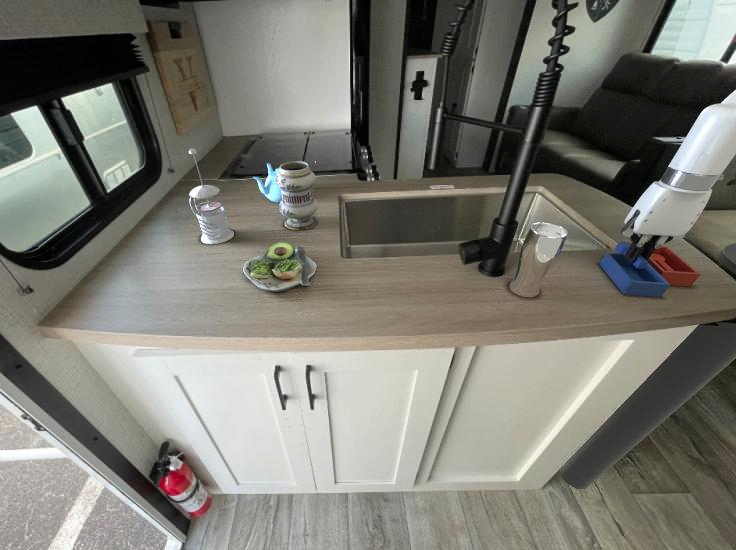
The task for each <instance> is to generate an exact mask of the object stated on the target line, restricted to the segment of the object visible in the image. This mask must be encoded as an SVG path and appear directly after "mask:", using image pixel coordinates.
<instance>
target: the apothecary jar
mask: <svg viewBox="0 0 736 550" xmlns="http://www.w3.org/2000/svg"><path fill="white" fill-rule="evenodd" d="M279 168H280V171H279V174H278V175H277V176H276V179H275V181H276V184H277V186H278V187H279V188H281V194H282V201H281V202H279V205H278V210H279V212H280V213H281V215H282V216H284V217H285V218H287V219H286V220H285V221H284V227H286V228H287V229H289V230H292V231H302V230H309V229H311V228H313V227H314V226H315V225H316V219H315V218H313V216H314V214H316V212H317V211H318V209H319V203H318V201H317V199H316V198H315V197H314V189H313V186H314V185H315V183H316V181H317V177H316V174H315V173H314V172H313V171H312V170H311V169H310V165H309V163H307V162H306V161H304V160H303V161H302V160H296V161H295V160H294V161H293V160H292V161H288V162H284V163H282V164H280V165H279Z"/></svg>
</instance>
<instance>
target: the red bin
mask: <svg viewBox="0 0 736 550" xmlns="http://www.w3.org/2000/svg"><path fill="white" fill-rule="evenodd" d="M653 254H658V255H661V256H663V257H664V258H665V261H664V262H665V263H666V264H667V265H669V266H670V267H671V268H672V269H673V270H674V271H665V270H664V269H663V268H662V267H660V266H659V265H658V264H657V263H656V262H655V261H654V260H653V259H652V258H651V257H650V258H649V259H648V260H647V261H648V263H649V264H650V265H651V266H652V267H653V268H654V269H655V270H656V271H657V272H658V273H659V274H660V275H661V276H662V277H663V278H664V279H665V280H666V281H667V282H668V283H669V284H670V286H677V287H692V286H693V285H694V283H695V282H696V281H697V279H698V278H699V277H700V276H701V275H702V274H701V273H700V272H699V271H698V270H696V269H695V268H694V267H693V266H692V265H691V264H690V263H688V262H687V261H686V260H684V258H682V257H681V256H679V255H678V253H676V252H675V251H674V250H673V249H671V248H670V247H669V246H667V245H662V246H661V247H660V248H658V249H655V251H654V252H653Z"/></svg>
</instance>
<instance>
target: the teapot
mask: <svg viewBox="0 0 736 550" xmlns="http://www.w3.org/2000/svg"><path fill="white" fill-rule="evenodd" d="M266 167H267V171H268V172H267V173H268V174H267V175H268V176H267V177H266V180H265V183H264V182H263V181H262V178H261V177H259V176H252V179H254V180H256V182H257V184H258V188H259V191H260V192H261V193H262V194H263V195H264V196H265V197H266V198H267V199H269V200H270V201H271V202H274V203H275V202H276V203H280V202H281V201H282V194H281V188H279V187H278V186H277V184H276V181H275V179H276V176H277V175H278V174H279V171H280V167H277V168H275V170H273V166H272V165H271V164H270V163H269V162H266Z"/></svg>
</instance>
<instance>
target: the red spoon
mask: <svg viewBox="0 0 736 550" xmlns="http://www.w3.org/2000/svg"><path fill="white" fill-rule="evenodd" d="M650 257H651V258H652V259H653V260H654V261H655V262H656V263H657V264H658V265H659V266H660V267H662V268H663V269H664V270H665V271H674V270H673V269H672V268H671V267H670V266H669V265H667V264H666V263H665V262H664V261H665V258H664V257H663V256H661V255H658V254H652V255H651V256H650Z"/></svg>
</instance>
